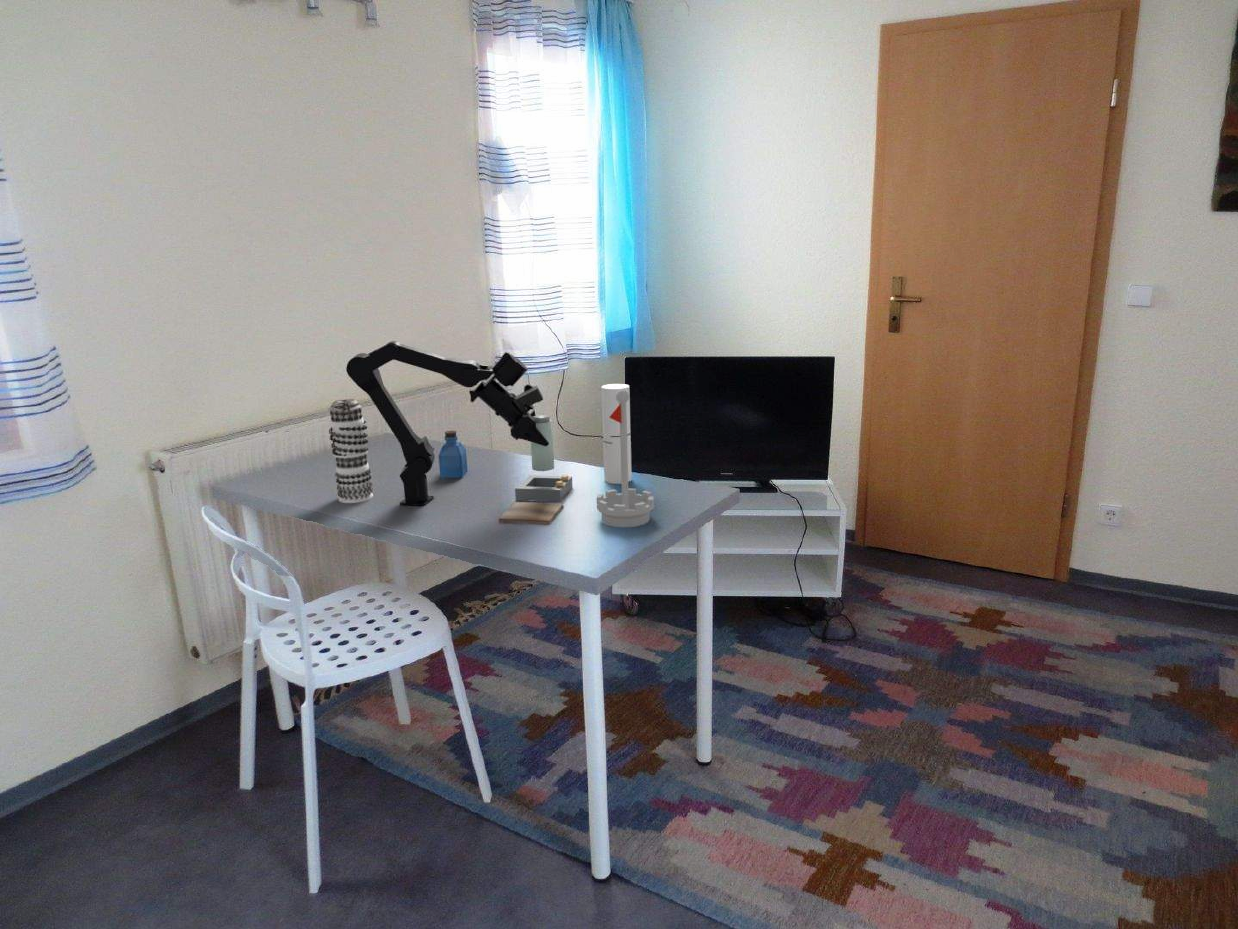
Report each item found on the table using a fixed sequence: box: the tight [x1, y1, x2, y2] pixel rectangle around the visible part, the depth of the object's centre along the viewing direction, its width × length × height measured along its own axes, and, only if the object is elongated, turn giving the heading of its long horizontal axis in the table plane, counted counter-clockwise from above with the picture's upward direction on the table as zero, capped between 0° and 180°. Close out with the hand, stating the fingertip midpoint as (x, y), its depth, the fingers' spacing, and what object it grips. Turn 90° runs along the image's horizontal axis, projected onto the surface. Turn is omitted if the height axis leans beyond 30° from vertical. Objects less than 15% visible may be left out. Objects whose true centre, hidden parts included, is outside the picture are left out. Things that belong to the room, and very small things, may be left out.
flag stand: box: [596, 390, 655, 528], centre depth 191 cm, size 13×13×30 cm
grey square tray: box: [514, 474, 573, 503], centre depth 215 cm, size 12×12×4 cm
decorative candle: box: [327, 398, 374, 504], centre depth 213 cm, size 9×9×25 cm
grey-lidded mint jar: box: [530, 414, 555, 472], centre depth 211 cm, size 6×6×13 cm
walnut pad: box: [498, 501, 564, 525], centre depth 200 cm, size 12×12×1 cm
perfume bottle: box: [438, 430, 468, 479], centre depth 233 cm, size 6×6×12 cm
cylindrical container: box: [601, 383, 632, 485], centre depth 222 cm, size 7×7×25 cm
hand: (547, 442), depth 211 cm, fingers closed on grey-lidded mint jar, 5 cm apart
